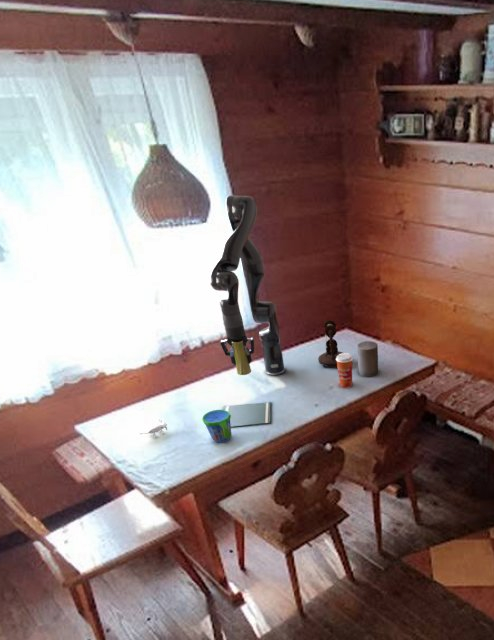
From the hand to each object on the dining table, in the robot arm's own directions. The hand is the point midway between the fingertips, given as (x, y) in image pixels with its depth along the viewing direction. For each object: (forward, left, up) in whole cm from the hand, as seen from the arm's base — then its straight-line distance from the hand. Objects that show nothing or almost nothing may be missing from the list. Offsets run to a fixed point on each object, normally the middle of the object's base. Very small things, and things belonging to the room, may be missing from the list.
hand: (242, 363), depth 217 cm
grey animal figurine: (+23, -37, -18) cm, 47 cm away
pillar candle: (-18, +56, -18) cm, 61 cm away
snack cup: (+30, -10, -18) cm, 37 cm away
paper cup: (-7, +44, -18) cm, 48 cm away
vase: (0, 0, -4) cm, 4 cm away
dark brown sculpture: (-33, +40, -18) cm, 55 cm away
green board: (+13, -1, -17) cm, 22 cm away
